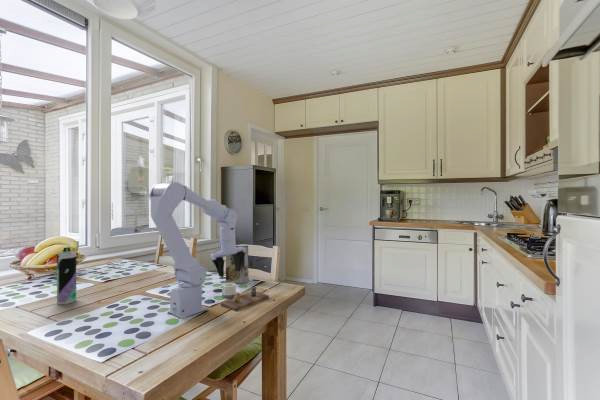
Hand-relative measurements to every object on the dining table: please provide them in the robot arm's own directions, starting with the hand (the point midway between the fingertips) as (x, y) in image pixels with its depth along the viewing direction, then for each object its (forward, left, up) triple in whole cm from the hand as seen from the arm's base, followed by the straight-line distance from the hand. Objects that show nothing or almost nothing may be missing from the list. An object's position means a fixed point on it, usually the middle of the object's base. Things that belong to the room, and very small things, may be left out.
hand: (229, 273), depth 108 cm
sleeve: (0, 0, -9) cm, 9 cm away
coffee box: (+15, +13, -9) cm, 22 cm away
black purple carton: (-40, +43, -9) cm, 60 cm away
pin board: (0, -10, -9) cm, 13 cm away
